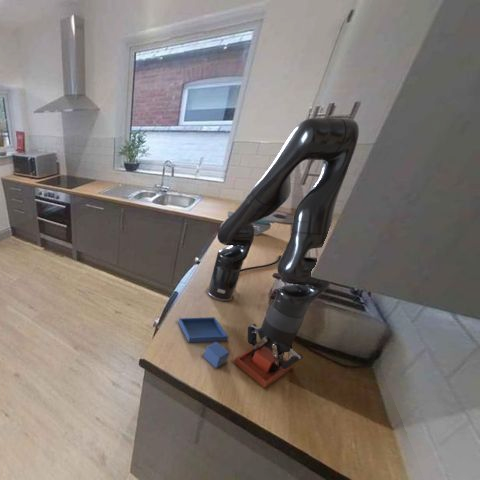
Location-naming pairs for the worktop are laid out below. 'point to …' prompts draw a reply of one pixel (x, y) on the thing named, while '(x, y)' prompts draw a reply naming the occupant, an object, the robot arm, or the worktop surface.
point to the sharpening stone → (260, 224)
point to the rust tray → (258, 369)
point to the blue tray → (202, 329)
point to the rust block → (263, 359)
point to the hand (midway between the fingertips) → (263, 363)
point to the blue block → (216, 354)
